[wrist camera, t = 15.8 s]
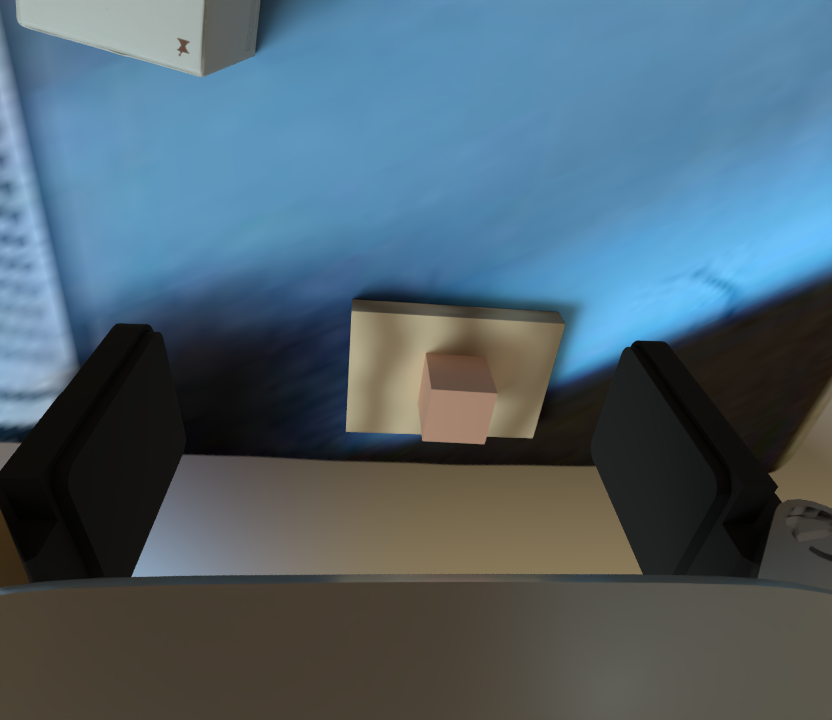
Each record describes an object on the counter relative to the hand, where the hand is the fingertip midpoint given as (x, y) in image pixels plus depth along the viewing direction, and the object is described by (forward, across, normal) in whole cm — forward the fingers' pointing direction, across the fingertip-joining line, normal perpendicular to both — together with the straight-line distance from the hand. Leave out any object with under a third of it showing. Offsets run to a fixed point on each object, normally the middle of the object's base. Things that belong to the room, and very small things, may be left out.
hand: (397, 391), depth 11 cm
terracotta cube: (+28, -6, +20) cm, 35 cm away
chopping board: (+30, -6, +20) cm, 36 cm away
